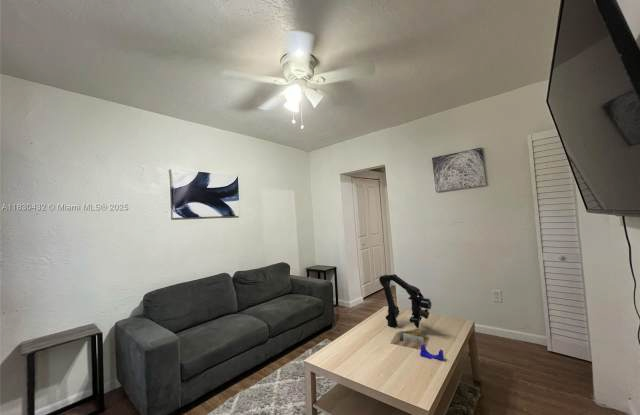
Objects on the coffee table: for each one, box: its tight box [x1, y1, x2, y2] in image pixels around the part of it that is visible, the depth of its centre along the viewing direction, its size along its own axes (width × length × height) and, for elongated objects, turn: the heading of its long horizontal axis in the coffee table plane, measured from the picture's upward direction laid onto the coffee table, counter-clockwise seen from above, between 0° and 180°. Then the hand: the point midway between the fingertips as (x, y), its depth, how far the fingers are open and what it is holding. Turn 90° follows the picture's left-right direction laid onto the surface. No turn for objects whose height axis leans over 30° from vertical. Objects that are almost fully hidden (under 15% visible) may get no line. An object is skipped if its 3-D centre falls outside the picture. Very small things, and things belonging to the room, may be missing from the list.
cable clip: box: [419, 345, 445, 362], centre depth 152 cm, size 12×4×6 cm, turn 49°
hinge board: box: [389, 331, 430, 351], centre depth 173 cm, size 22×18×1 cm
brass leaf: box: [401, 328, 421, 336], centre depth 176 cm, size 13×1×5 cm, turn 98°
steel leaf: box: [398, 330, 424, 345], centre depth 170 cm, size 15×2×6 cm, turn 58°
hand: (417, 328), depth 182 cm, fingers closed
